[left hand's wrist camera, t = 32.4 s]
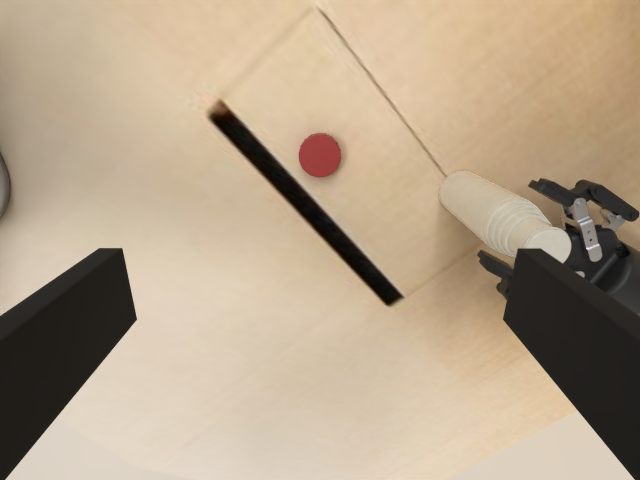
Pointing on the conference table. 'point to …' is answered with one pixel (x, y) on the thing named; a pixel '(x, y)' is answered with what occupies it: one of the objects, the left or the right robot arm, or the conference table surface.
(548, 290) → the left robot arm
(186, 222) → the conference table surface
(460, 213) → the bottle
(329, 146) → the cap
